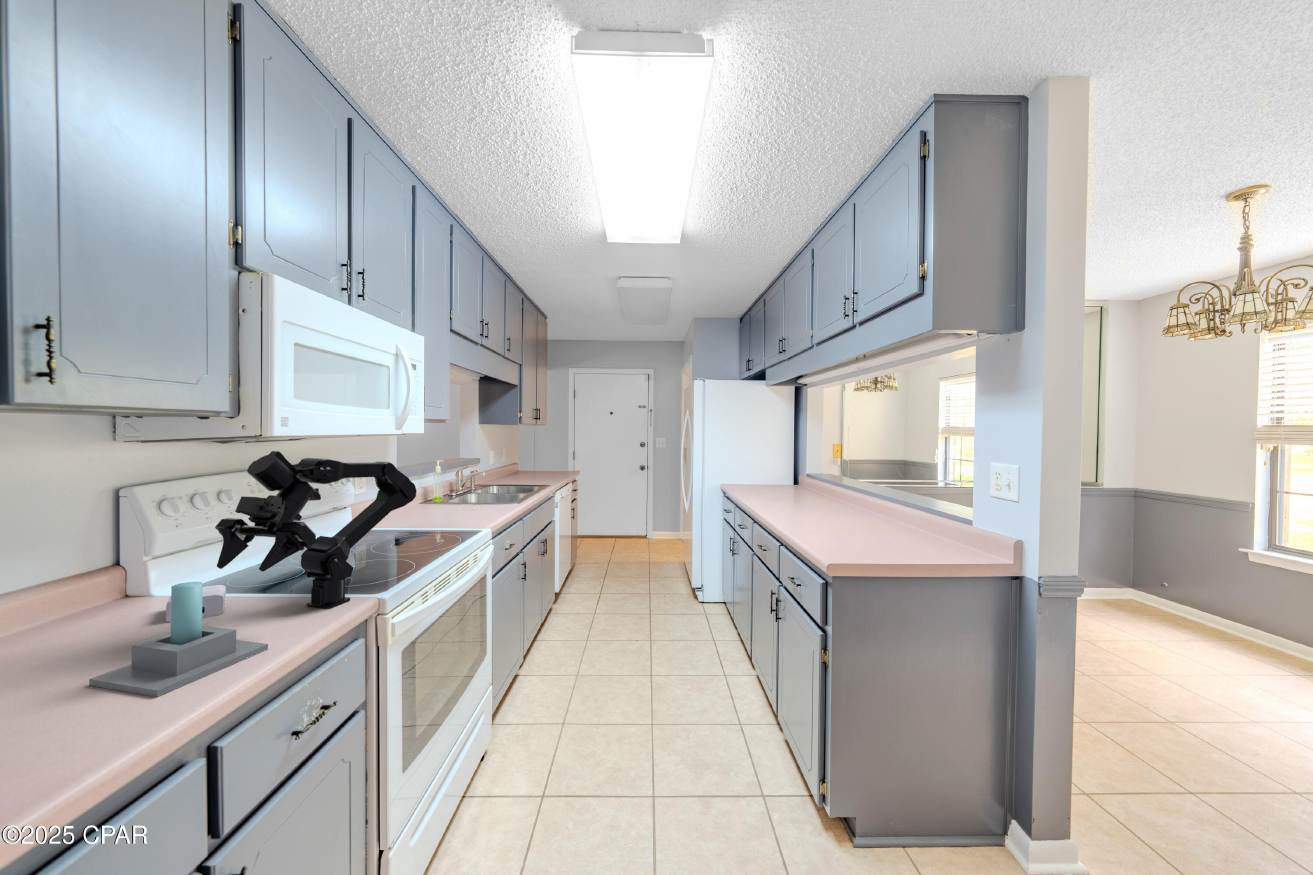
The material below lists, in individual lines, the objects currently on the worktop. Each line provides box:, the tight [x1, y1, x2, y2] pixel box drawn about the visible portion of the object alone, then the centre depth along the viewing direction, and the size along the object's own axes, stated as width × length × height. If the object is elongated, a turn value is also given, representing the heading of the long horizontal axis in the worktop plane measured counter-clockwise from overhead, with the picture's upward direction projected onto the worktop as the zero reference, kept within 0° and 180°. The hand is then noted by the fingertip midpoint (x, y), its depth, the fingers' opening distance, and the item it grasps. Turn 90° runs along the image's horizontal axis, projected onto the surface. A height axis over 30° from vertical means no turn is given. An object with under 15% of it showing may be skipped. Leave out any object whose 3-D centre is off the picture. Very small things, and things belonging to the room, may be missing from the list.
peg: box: [170, 581, 204, 645], centre depth 90 cm, size 4×4×13 cm
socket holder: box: [88, 624, 269, 698], centre depth 90 cm, size 18×14×5 cm
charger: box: [165, 584, 227, 623], centre depth 118 cm, size 5×9×15 cm
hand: (239, 569), depth 102 cm, fingers open, 9 cm apart
